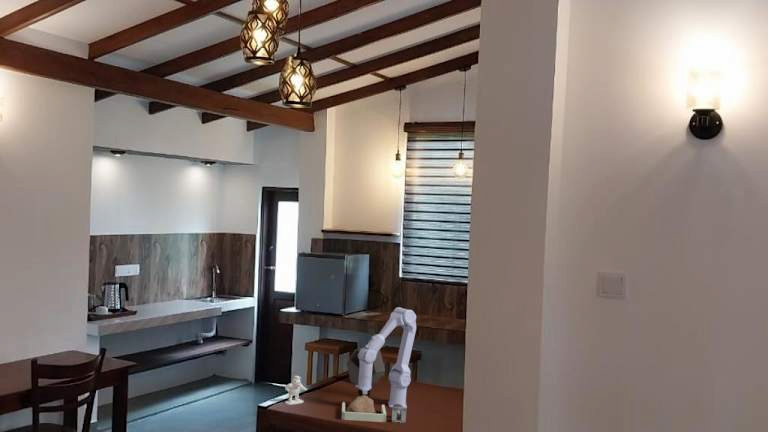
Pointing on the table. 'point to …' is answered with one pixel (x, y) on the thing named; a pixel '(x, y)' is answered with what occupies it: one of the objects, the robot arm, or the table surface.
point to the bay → (364, 415)
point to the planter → (354, 366)
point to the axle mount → (403, 414)
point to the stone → (362, 405)
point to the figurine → (294, 391)
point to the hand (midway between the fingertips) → (363, 406)
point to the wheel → (398, 410)
